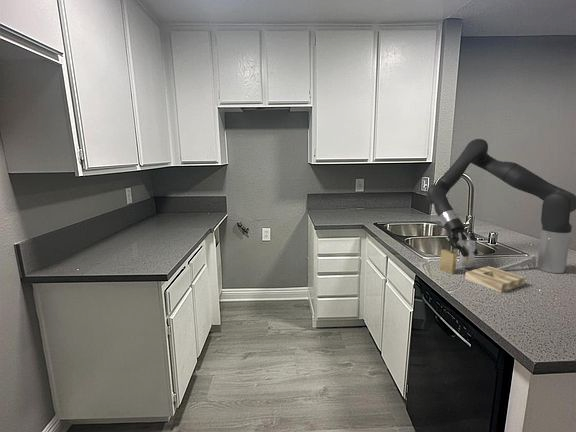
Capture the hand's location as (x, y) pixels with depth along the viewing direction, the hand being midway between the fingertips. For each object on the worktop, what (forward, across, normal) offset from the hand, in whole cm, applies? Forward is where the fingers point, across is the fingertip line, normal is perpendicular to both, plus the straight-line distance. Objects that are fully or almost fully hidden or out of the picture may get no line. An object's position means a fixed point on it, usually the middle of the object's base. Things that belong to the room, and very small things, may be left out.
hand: (471, 255), depth 131 cm
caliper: (+9, -18, -2) cm, 20 cm away
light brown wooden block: (+3, +10, -6) cm, 12 cm away
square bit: (+2, 0, -5) cm, 6 cm away
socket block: (+14, +1, +4) cm, 14 cm away
